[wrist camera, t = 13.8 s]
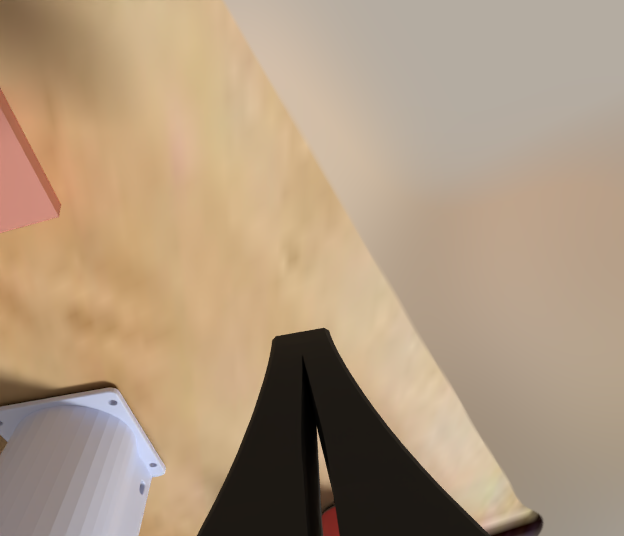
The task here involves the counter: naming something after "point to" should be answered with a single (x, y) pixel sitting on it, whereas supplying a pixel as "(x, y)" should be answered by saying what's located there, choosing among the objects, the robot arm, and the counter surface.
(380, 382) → the counter surface
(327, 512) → the beer can
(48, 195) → the red domino
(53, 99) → the counter surface
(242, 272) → the counter surface
